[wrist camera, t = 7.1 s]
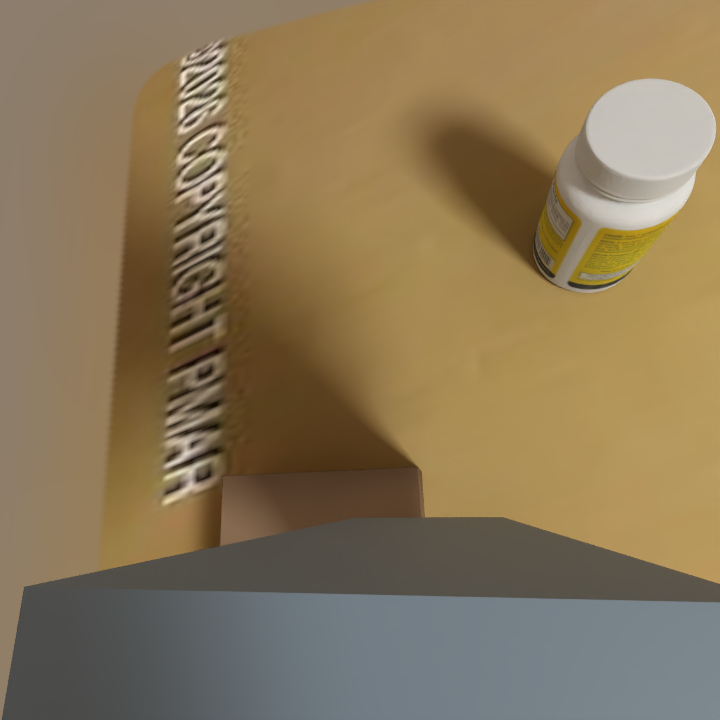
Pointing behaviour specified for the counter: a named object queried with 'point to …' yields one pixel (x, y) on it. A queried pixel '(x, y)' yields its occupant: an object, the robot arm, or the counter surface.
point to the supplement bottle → (621, 182)
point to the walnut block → (315, 500)
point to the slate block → (373, 631)
